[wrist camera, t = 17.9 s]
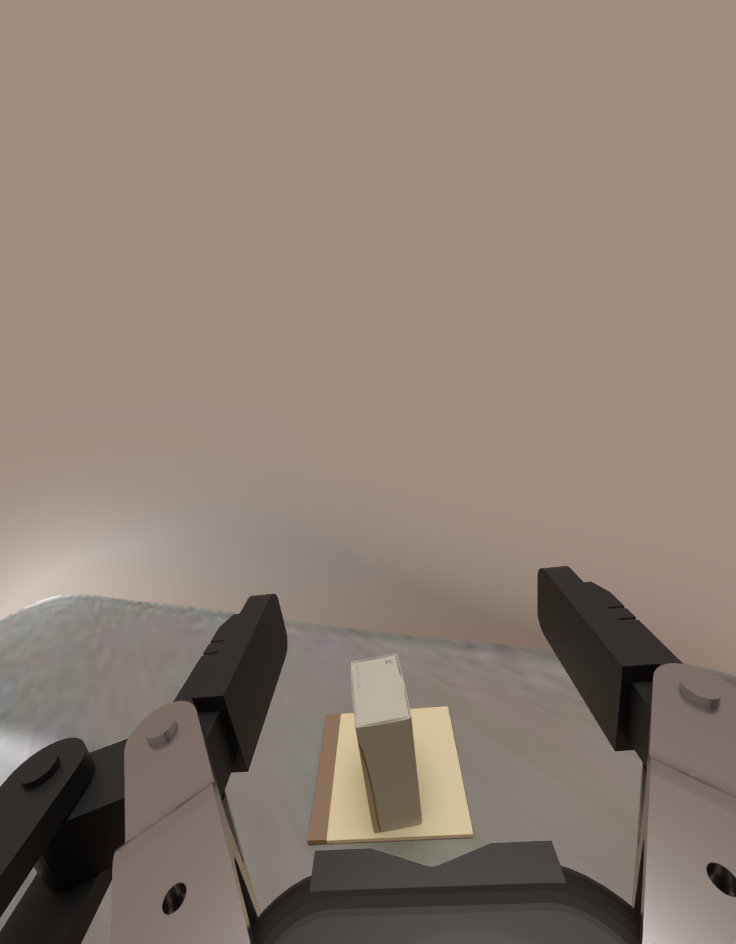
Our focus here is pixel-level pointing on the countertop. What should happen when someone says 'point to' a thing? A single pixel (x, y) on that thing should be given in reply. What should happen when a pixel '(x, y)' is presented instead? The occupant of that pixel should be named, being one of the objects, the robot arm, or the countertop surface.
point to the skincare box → (386, 742)
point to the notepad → (344, 792)
